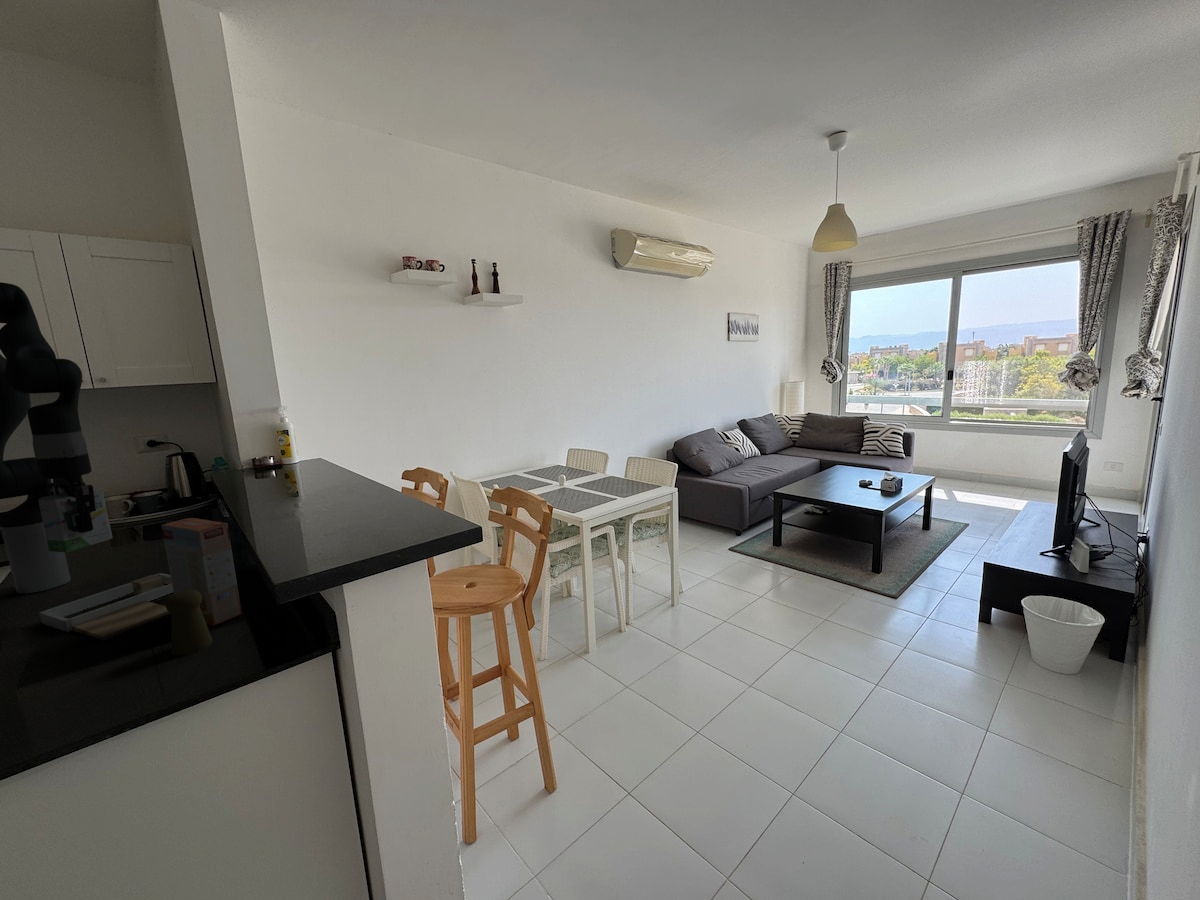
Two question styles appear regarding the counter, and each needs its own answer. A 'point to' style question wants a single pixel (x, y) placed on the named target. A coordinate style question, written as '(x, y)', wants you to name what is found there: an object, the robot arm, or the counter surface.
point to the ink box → (72, 523)
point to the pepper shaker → (187, 623)
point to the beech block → (146, 584)
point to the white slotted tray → (57, 614)
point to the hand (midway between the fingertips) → (78, 529)
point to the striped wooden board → (121, 619)
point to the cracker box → (203, 565)
